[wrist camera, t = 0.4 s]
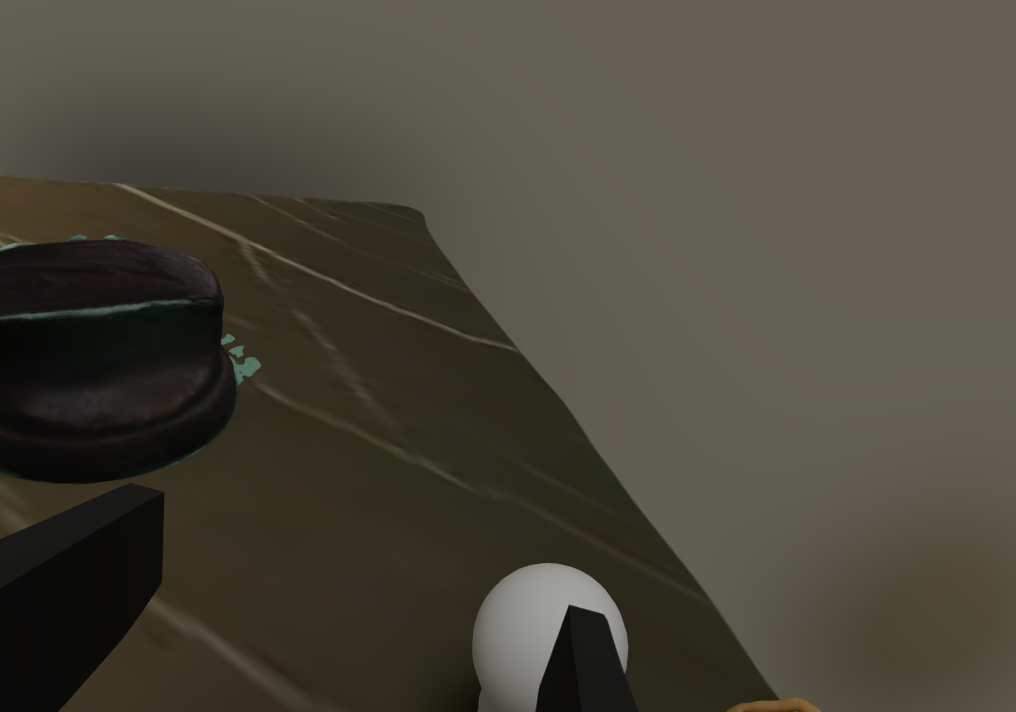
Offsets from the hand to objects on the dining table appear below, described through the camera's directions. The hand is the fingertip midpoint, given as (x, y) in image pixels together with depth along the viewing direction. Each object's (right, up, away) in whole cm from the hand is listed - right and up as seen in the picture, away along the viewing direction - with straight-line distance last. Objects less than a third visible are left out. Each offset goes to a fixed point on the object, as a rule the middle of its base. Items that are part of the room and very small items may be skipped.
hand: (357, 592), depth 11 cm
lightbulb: (+2, -14, +19) cm, 23 cm away
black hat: (-23, +2, +29) cm, 37 cm away
